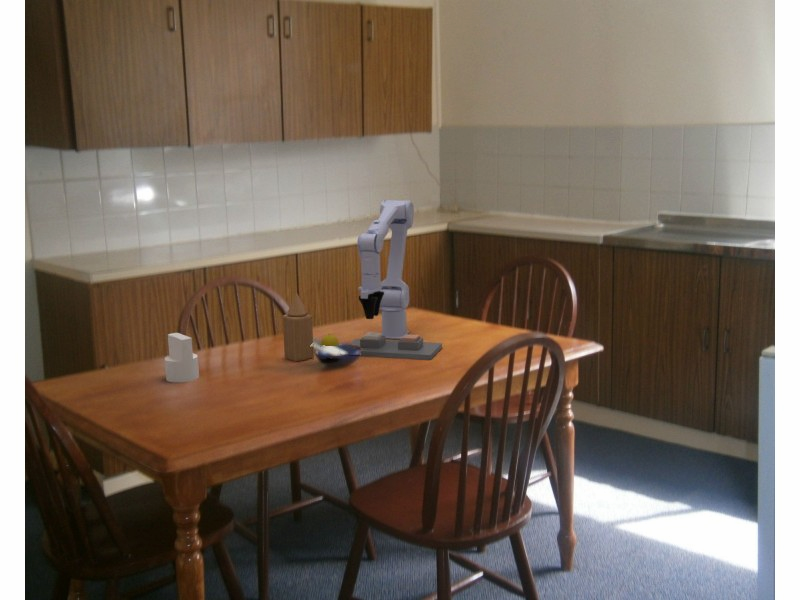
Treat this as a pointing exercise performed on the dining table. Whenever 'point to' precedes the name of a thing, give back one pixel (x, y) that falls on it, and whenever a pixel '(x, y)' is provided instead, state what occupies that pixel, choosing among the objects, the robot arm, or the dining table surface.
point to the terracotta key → (410, 338)
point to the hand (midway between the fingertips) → (372, 317)
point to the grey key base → (398, 348)
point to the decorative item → (297, 332)
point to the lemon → (330, 340)
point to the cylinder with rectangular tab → (181, 359)
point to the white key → (373, 336)
